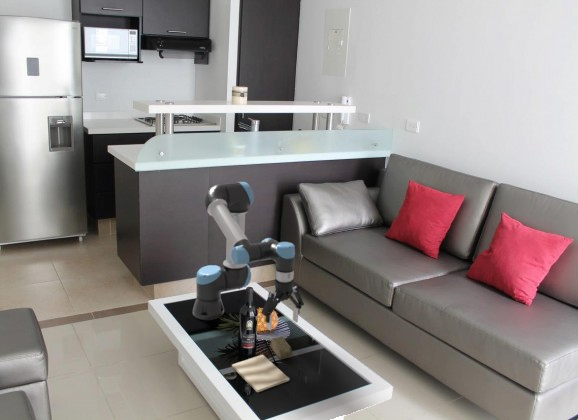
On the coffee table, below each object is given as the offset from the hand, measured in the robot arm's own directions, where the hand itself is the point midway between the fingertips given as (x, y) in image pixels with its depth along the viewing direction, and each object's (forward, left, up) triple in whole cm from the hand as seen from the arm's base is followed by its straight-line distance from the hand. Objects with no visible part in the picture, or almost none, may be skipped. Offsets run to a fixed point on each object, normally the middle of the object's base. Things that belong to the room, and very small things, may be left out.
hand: (282, 325), depth 234 cm
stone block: (0, 0, -14) cm, 14 cm away
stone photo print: (+9, -16, -14) cm, 23 cm away
